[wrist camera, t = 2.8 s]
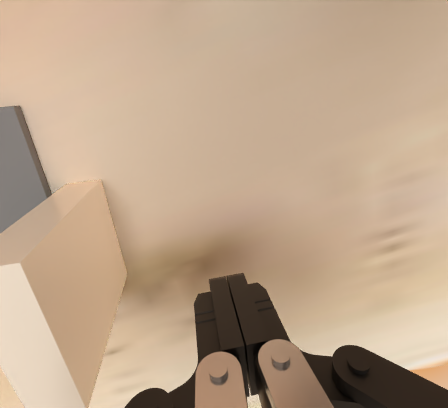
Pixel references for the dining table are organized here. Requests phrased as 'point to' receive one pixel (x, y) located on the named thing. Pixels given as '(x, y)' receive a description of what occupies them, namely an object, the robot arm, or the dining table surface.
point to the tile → (59, 296)
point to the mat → (18, 169)
